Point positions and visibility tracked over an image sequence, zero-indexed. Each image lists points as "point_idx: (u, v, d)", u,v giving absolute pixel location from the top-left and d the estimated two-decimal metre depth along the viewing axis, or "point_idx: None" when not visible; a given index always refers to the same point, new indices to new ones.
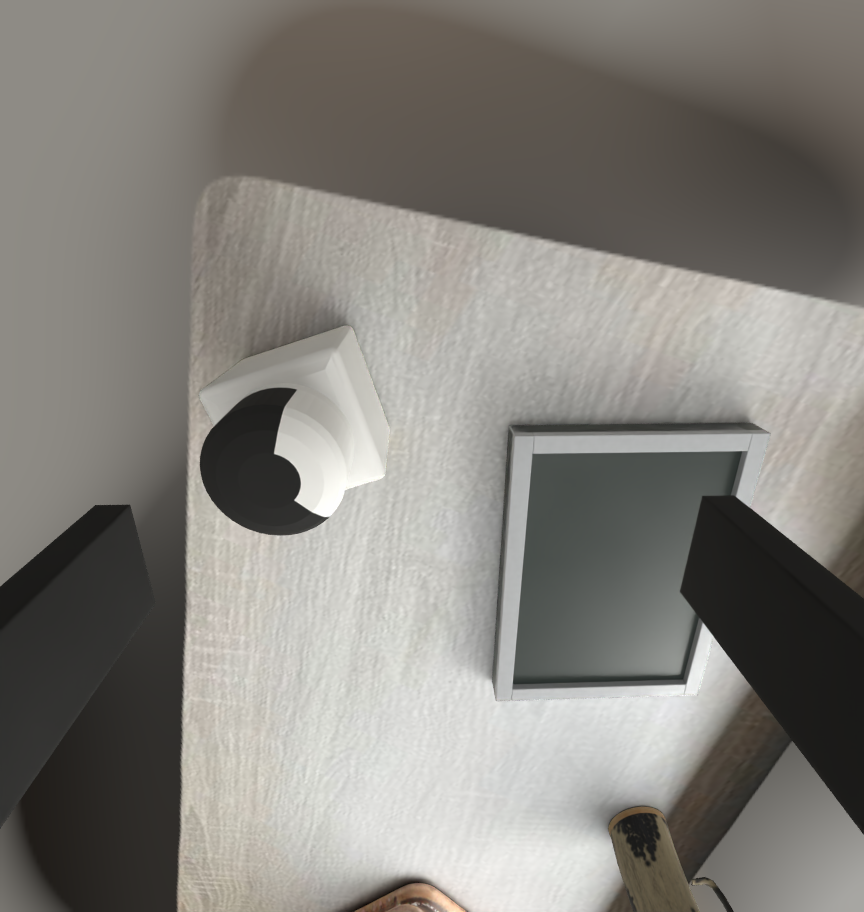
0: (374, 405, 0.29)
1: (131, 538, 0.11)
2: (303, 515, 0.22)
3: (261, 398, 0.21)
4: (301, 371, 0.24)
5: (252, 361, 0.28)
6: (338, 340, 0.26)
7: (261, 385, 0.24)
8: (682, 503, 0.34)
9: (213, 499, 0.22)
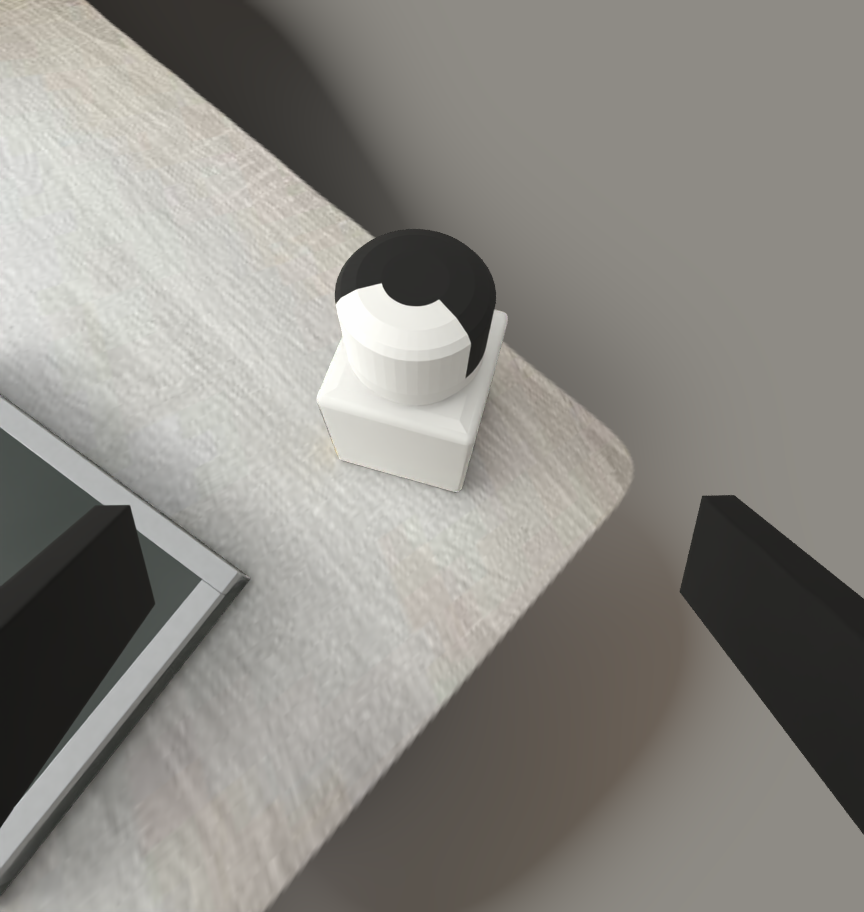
0: (379, 455, 0.26)
1: (130, 537, 0.11)
2: (359, 280, 0.19)
3: (486, 337, 0.20)
4: (471, 401, 0.22)
5: None
6: (468, 458, 0.24)
7: (481, 361, 0.23)
8: None
9: (431, 231, 0.20)
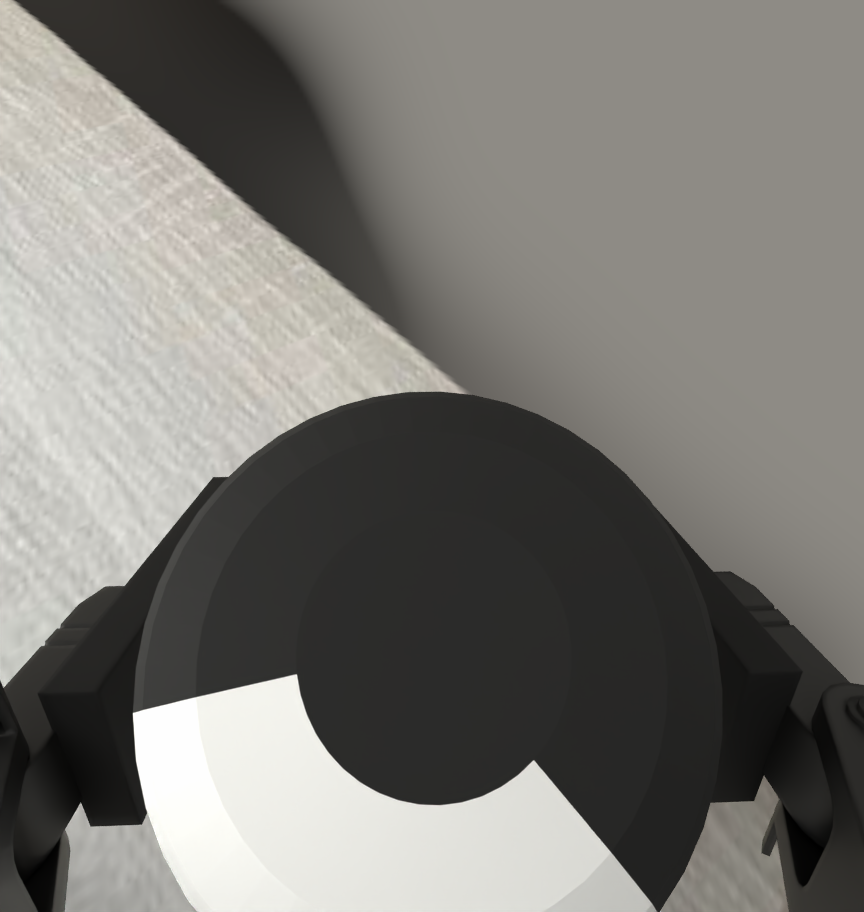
0: None
1: None
2: (210, 647, 0.05)
3: None
4: None
5: None
6: None
7: None
8: None
9: (480, 403, 0.06)
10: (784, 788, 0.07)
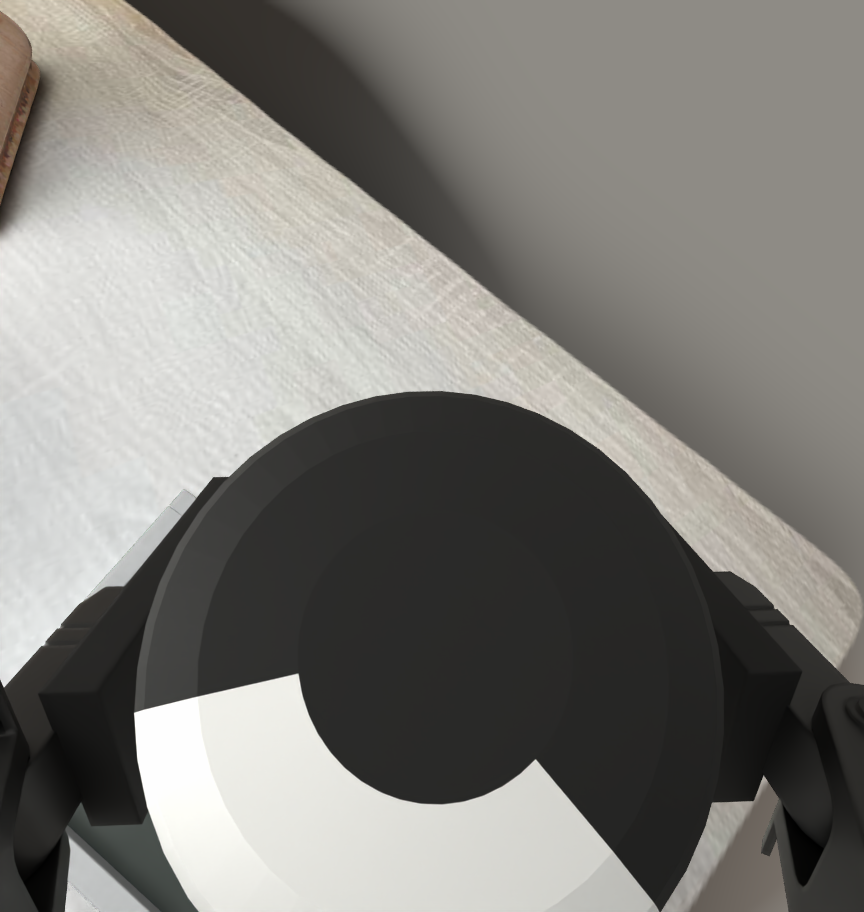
0: None
1: None
2: (212, 646, 0.05)
3: None
4: None
5: None
6: None
7: None
8: None
9: (481, 402, 0.06)
10: (784, 788, 0.07)
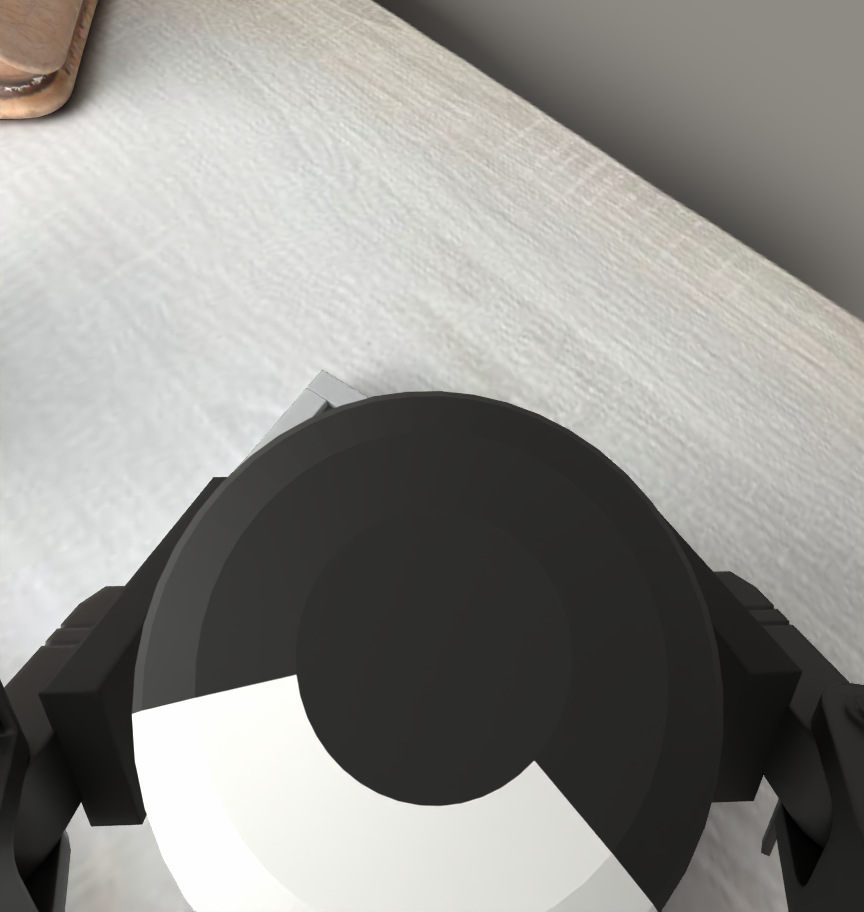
0: None
1: None
2: (209, 648, 0.05)
3: None
4: None
5: None
6: None
7: None
8: None
9: (480, 402, 0.06)
10: (783, 788, 0.07)
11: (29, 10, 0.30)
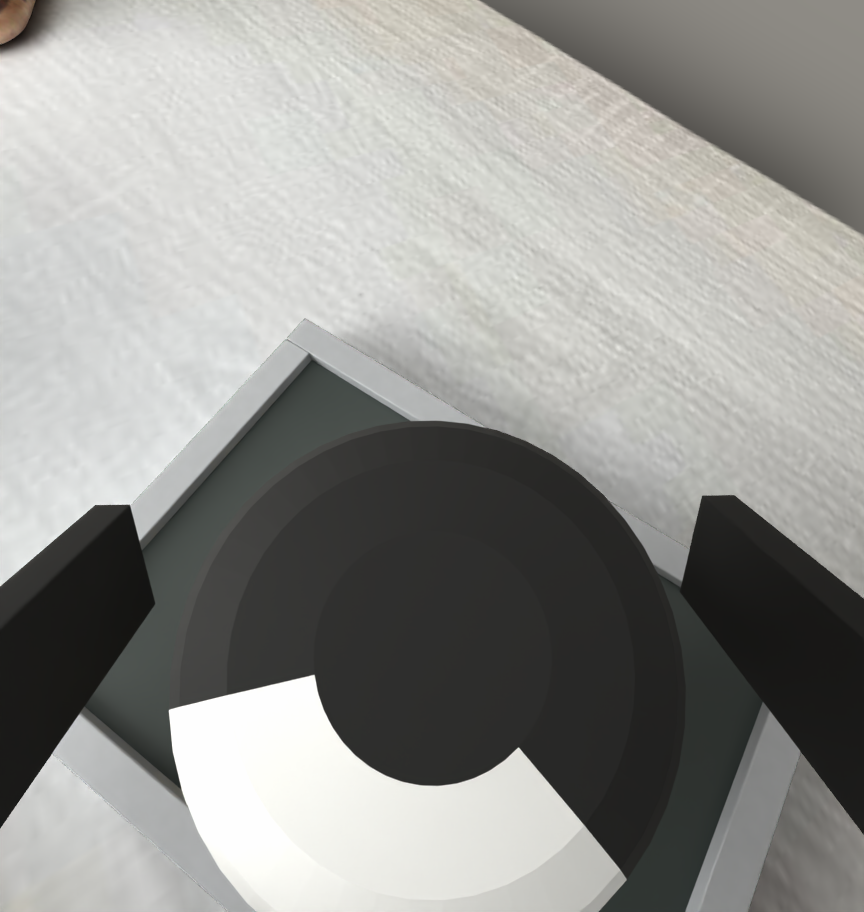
0: None
1: (130, 538, 0.11)
2: (238, 652, 0.05)
3: None
4: None
5: None
6: None
7: None
8: None
9: (473, 432, 0.07)
10: None
11: None
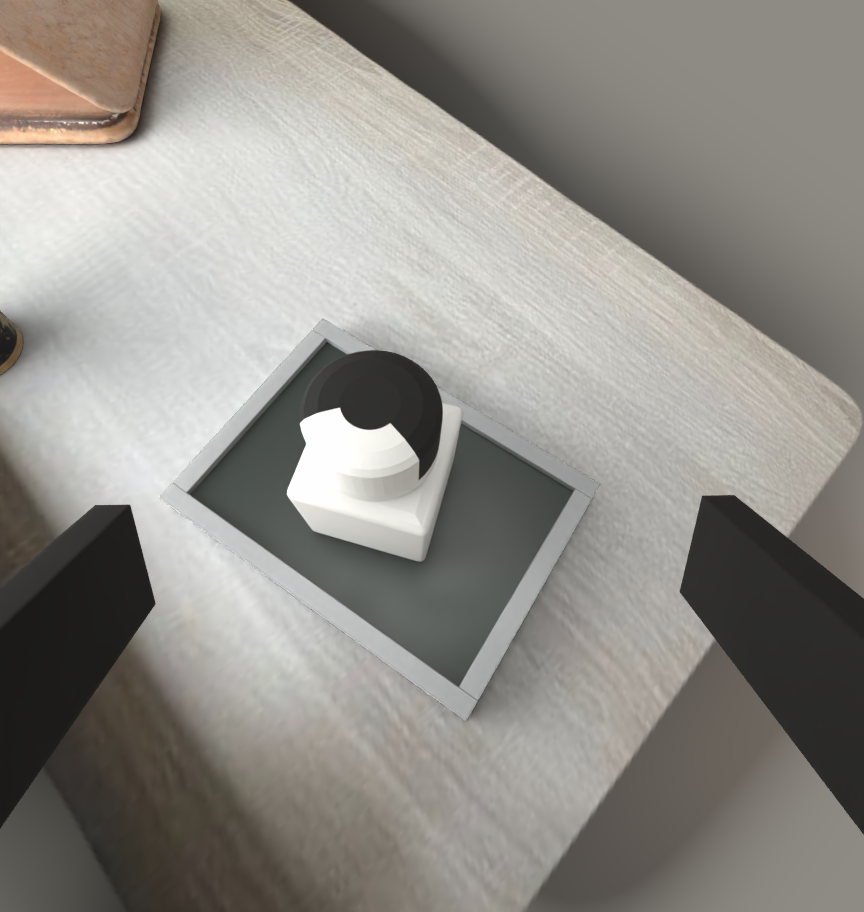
0: (347, 532, 0.28)
1: (131, 538, 0.11)
2: (320, 403, 0.21)
3: (435, 448, 0.22)
4: (426, 495, 0.25)
5: (450, 465, 0.30)
6: (425, 542, 0.26)
7: (436, 456, 0.25)
8: (430, 597, 0.30)
9: (386, 352, 0.23)
10: None
11: (111, 67, 0.42)
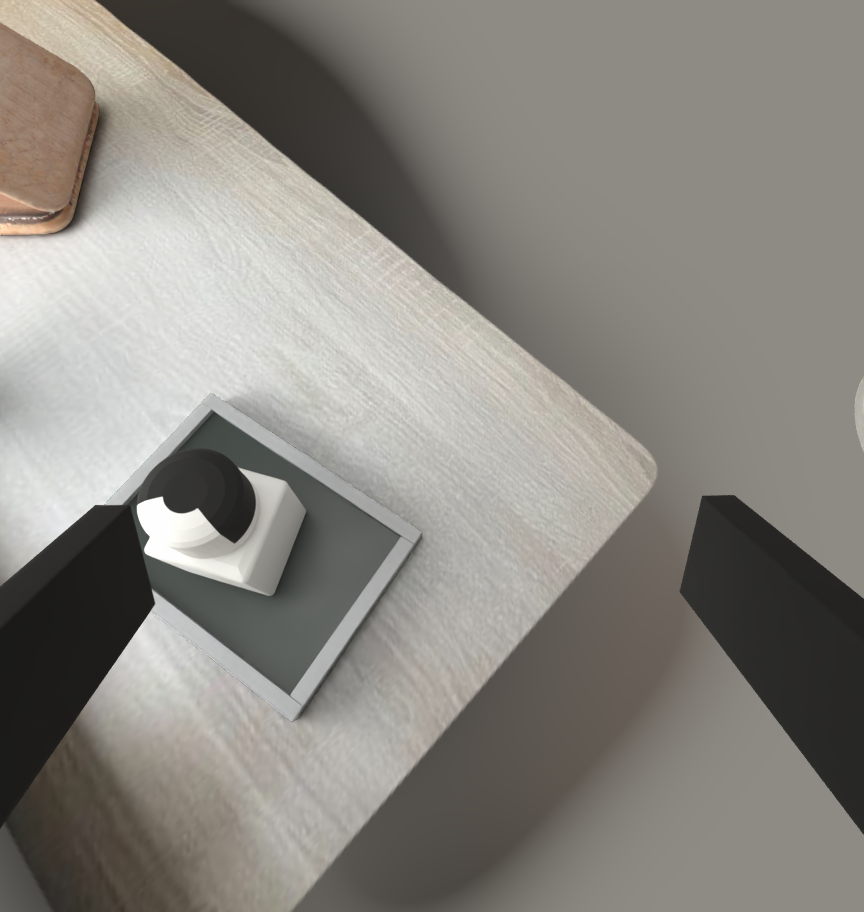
0: (205, 575, 0.37)
1: (131, 537, 0.11)
2: (149, 493, 0.29)
3: (239, 522, 0.30)
4: (248, 551, 0.33)
5: (292, 520, 0.38)
6: (254, 585, 0.34)
7: (260, 521, 0.34)
8: (276, 624, 0.38)
9: (206, 451, 0.31)
10: None
11: (48, 173, 0.51)
